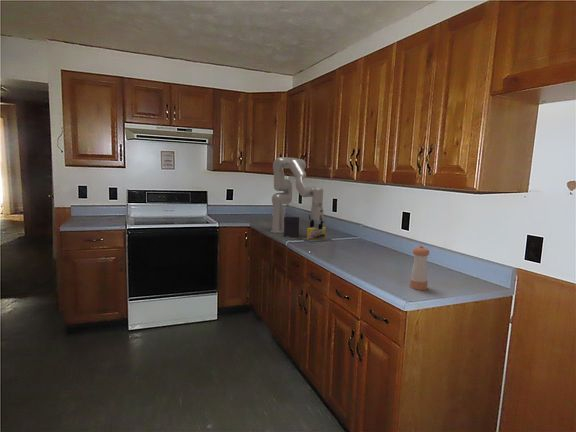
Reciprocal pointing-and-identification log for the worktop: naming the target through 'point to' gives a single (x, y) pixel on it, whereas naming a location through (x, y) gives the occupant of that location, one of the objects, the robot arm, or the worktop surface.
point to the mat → (316, 239)
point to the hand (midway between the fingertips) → (316, 228)
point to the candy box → (315, 233)
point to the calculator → (291, 226)
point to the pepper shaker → (419, 269)
